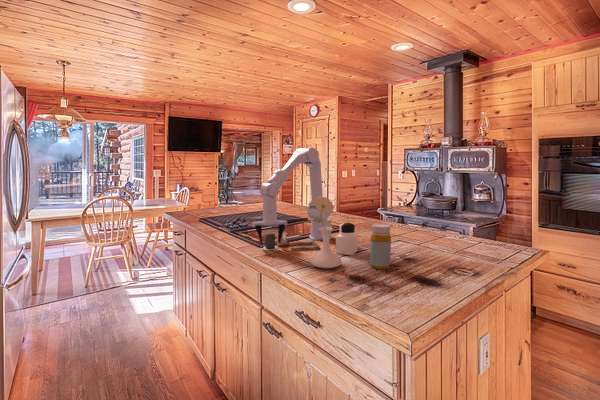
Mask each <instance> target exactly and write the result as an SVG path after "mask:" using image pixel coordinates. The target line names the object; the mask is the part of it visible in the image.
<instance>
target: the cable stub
mask: <svg viewBox="0 0 600 400" xmlns="http://www.w3.org/2000/svg"><path fill="white" fill-rule="evenodd" d="M264 237H265V240H264V241H265V246H266V249H274V248H275V246H276V234H275V233H273V232H267V233H265V236H264Z"/></svg>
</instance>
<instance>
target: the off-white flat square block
mask: <svg viewBox="0 0 600 400" xmlns="http://www.w3.org/2000/svg"><path fill="white" fill-rule="evenodd" d="M262 248H263V251H264V252H268V251H278V247H277V245H275V248H274V249H266V245H264V246H263V247H262Z"/></svg>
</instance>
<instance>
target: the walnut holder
mask: <svg viewBox="0 0 600 400" xmlns="http://www.w3.org/2000/svg"><path fill="white" fill-rule="evenodd" d="M287 245H288V246H290V251H292V252H294V251H297V252H298V251H314V250H316V251H317V250H319V251H320V250H321V249H320V248H321V247H320V245H319V244H318V243H317V241H316V240H311V241H309V240H308V241H307V240H306V241H305V240H304V241H287Z"/></svg>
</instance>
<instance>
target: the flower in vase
mask: <svg viewBox="0 0 600 400" xmlns="http://www.w3.org/2000/svg"><path fill="white" fill-rule="evenodd" d="M314 200H315V201H314V202H315V203H314V205H315V206H316V208H317V209H318V210H319V211H320V212H321V214H322V212H323V213H324V214H328V213H329V214H330V215H331V214H333V213H334V211H335V210H334V209H335V205H334V204H333V201H331V200H330V199H329V198H327V197H326V196H323V197H322V196H318V197H317V198H316V199H314ZM321 214H320V219H319V218H318V217H315V218H314V220H313V221H315V222H318V223H320V222H322V220H321ZM329 220H330V221H327V222H326V223H325V224H327V223H329V222H331V223H332V221H333V219H329ZM322 224H323V222H322ZM323 226H324V224H323ZM319 229H320V230H321V232H322V236H323V240H322V248H321V249H320V250H319V251H317V253H315V254H314V255H313V256H312V257H311V258H310V259H309V263H310V264H311V265H312V266H314V267H316V268H320V269H333V268H337V267H340V266H341V265H342V263H343V260H342V258H341V257H340V256H339V254H338V255H337V253H336V252H334V251H333V250H332V249H331V246H330V240H331V239H330V234H331V235H332V232H333V230H334V228H333V227H332V226H331V227H325V226H324V227H320V228H319Z"/></svg>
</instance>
